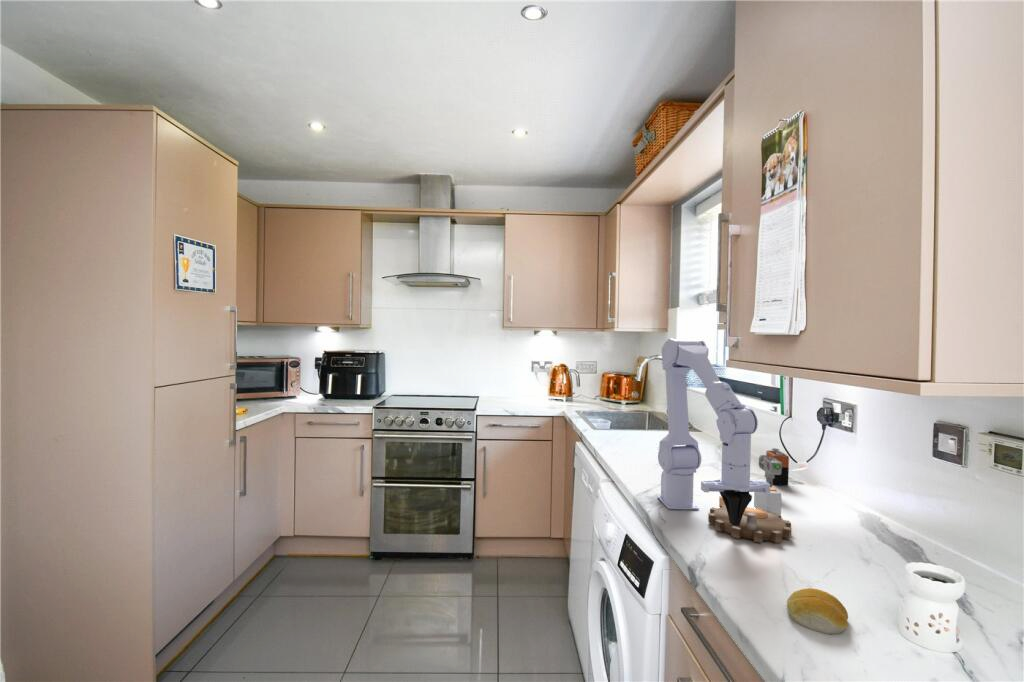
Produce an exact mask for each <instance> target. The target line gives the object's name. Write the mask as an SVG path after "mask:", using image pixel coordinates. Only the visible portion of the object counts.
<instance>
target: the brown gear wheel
mask: <svg viewBox="0 0 1024 682" xmlns="http://www.w3.org/2000/svg"><path fill="white" fill-rule="evenodd" d="M707 517H708V523H709V524H710V525H714V529H715V530H716V531H719V532H725V533H727V534H730V535H731V537H733V538H736V539H740V538H744V539H750V540H752V541H753V542H755V543H763V541H772V542H774V544H775V543H782V539H783V538H785V539H788V540H790V539H791V538H792V522H791V521H790V520H784V519H782V514H781V515H778V514H776V513H775V514H771V513H768V512H765V511H764V509H761V508H756V509H754V507H753V508H752V507H748V506H747V507H746V509H745V511H744V513H743V516H742V519H741V522H740V526H733V525H732V524H731V523H730V522H729V517H728V512H727V509H726V506H725V505H720V508H719V507H718V508H717V507H712V506H711V508H710V509H709V512H708V515H707Z"/></svg>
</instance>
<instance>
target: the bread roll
mask: <svg viewBox="0 0 1024 682" xmlns="http://www.w3.org/2000/svg"><path fill="white" fill-rule="evenodd" d="M786 610H787V612H788V614H789V616H790V617H791V619H793V620H794V621H795V622H796V623H798V624H800V625H801V626H803V627H805V628H808V629H810V630H812V631H816V632H818V633H821V634H822V633H823V634H827V635H836V634H840V633H843V632H844V631H845V630H846V629H847V628H848V621H849V620H848V619H849V614H848V613H849V612H848V611H847V609H846V607H845V606H844V604H843V603H842V602H841V601H840V600H839V599H838V598H837V597H835V596H834V595H833V594H830V593H829V592H826V591H825V590H821V589H818V588H812V587H810V588H801V589H799V590H796V591H793V592H792V593H791V594H790V596H788V598H787V601H786Z"/></svg>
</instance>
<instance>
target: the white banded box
mask: <svg viewBox="0 0 1024 682" xmlns="http://www.w3.org/2000/svg"><path fill="white" fill-rule="evenodd" d="M753 493H754V496H753V508H754V507H755V508H761V509H764V511H765V512H768V513H771V514H775V513H776V514H778V515H781V516H782V493H781V492H780V491H778V489H776V488H774V487H773V486H772V487H770V493H765V492H753Z"/></svg>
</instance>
